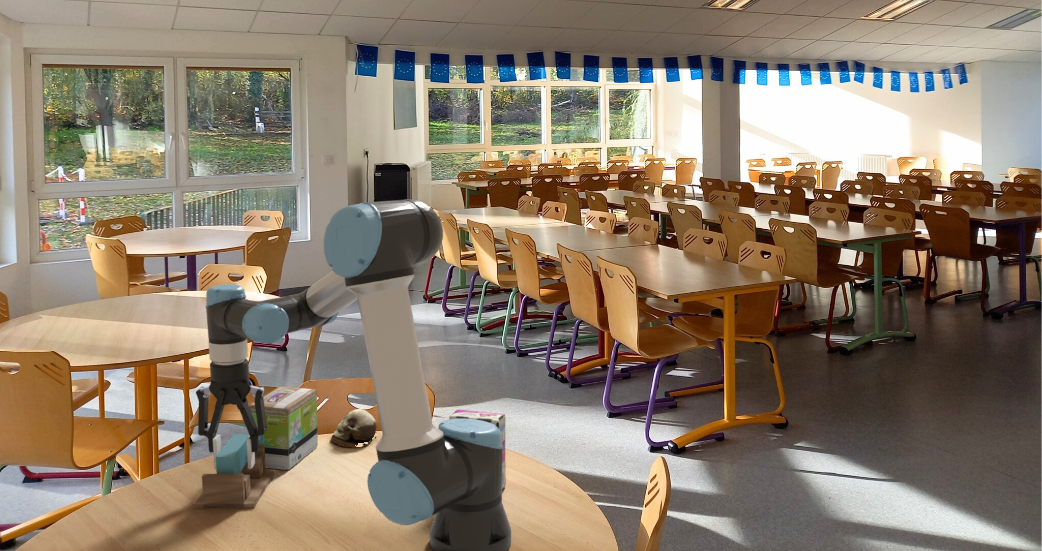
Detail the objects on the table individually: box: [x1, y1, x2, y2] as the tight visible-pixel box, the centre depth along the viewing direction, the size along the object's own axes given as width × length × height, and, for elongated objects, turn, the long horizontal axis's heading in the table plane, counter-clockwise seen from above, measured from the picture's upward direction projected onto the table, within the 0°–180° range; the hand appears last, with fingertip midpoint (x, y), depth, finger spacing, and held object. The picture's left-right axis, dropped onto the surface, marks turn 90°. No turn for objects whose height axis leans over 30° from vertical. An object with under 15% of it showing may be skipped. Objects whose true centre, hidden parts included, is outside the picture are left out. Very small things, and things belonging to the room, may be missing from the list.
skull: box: [330, 408, 378, 448], centre depth 210 cm, size 12×10×10 cm
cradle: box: [193, 444, 276, 510], centre depth 180 cm, size 17×12×7 cm
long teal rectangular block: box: [215, 433, 249, 474], centre depth 180 cm, size 13×4×5 cm, turn 2°
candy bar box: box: [448, 409, 507, 491], centre depth 182 cm, size 11×5×16 cm, turn 73°
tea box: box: [248, 386, 319, 471], centre depth 198 cm, size 15×10×15 cm, turn 168°
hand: (234, 466), depth 180 cm, fingers open, 6 cm apart
